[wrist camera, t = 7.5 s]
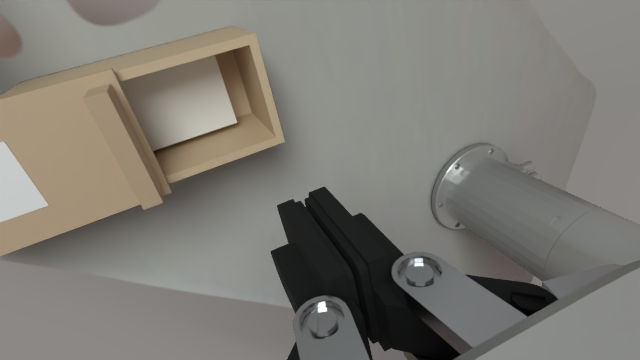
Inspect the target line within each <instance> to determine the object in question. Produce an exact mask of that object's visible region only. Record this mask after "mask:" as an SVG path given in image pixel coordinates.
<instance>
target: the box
mask: <svg viewBox="0 0 640 360" xmlns="http://www.w3.org/2000/svg"><path fill="white" fill-rule="evenodd" d="M109 68H113V70H114V72H115V74H116V76H117V78H118V80H119V82H120V84H121V86H122V88H123V91H124V93H125V95H126V97H127V99H128V101H129V103H130V105H131V107H132V109H133V111H134V113H135V115H136V117H137V120H138V122H139V124H140V126H141V128H142V130H143V132H144V134H145V136H146V138H147V140H148V142H149V144H150V146H151V149H152V151H153V153H154V155H155V157H156V159H157V161H158V163H159V165H160V167H161V169H162V171H163V173H164V175H165V178H166V180H167V182H168V184H170V183H173V182H176V181H179V180H181V179H184V178H187V177H190V176H192V175H195V174H198V173H201V172H203V171H206V170H209V169H212V168H214V167H217V166H220V165H223V164H225V163H228V162H231V161H234V160H236V159H239V158H242V157H245V156H248V155H250V154H253V153H256V152H259V151H261V150H264V149H267V148H270V147H272V146H275V145H278V144H281V143H283V142H285V140H284V136H283V132H282V129H281V125H280V121H279V118H278V114H277V110H276V107H275V103H274V99H273V96H272V92H271V89H270V85H269V81H268V78H267V74H266V70H265V67H264V63H263V59H262V56H261V52H260V48H259V45H258V41H257V37H256V34H255V33H253V32H250V31H246V30H243V29H240V28H236V27H233V26H230V27H226V28H223V29H219V30H215V31H211V32H207V33H204V34H200V35H196V36H192V37H189V38H185V39H181V40H177V41H174V42H170V43H166V44H162V45H159V46H155V47H151V48H147V49H144V50H140V51H136V52H132V53H129V54H125V55H121V56H117V57H114V58H110V59H106V60H102V61H98V62H95V63H91V64H87V65H83V66H80V67H76V68H72V69H68V70H65V71H61V72H57V73H53V74H50V75H46V76H42V77H38V78H35V79H31V80H27V81H23V82H20V83H19V84H17V85H16V86H14V87H13V88H11V89H10V90H8V91H7V92H5V93H4V94H2V95H1V96H0V98H3V97H6V96H10V95H14V94H17V93H21V92H25V91H28V90H32V89H36V88H39V87H43V86H47V85H50V84H54V83H58V82H61V81H65V80H69V79H72V78H76V77H80V76H83V75H87V74H91V73H94V72H98V71H102V70H105V69H109Z"/></svg>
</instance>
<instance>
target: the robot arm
mask: <svg viewBox="0 0 640 360" xmlns="http://www.w3.org/2000/svg"><path fill="white" fill-rule="evenodd" d="M534 169H535V165H534V163H533V162H532V161H527V162H525V163H523V164H521V165H520V166H518V165H515V164H513V163H511V162H508V159H507V157H506V155H505V153H504V152H503V151H502V150H501V149H500V148H498V147H496V146H494V145H491V144H488V143H479V144H474V145H471V146H469V147H467V148H465V149H463V150H462V151H460V152H458V153H457V154H456V155H455V156H454V157H453V158H452V159H451V160H450V161H449V162H448V163H447V164H446V165H445V167H444V168H443V170H442V171H441V173H440V174H439V176H438V178H437V180H436V183H435V186H434V189H433V193H432V210H433V214H434V216H435V218H436V219H437V220H438V221H439V222H440V223H441V224H443V225H444V226H445V227H447V228H450V229H455V230H458V229H464V228H468V229H469V230H471V231H472V232H473V233H475V234H476V235H478V236H479V237H480V238H482V239H483V240H485V241H486V242H488V243H489V244H490V245H492V246H493V247H495V248H496V249H497V250H499V251H500V252H502V253H503V254H505V255H506V256H507V257H509V258H510V259H512V260H513V261H514V262H516V263H517V264H519V265H520V266H522V267H523V268H524V269H526V270H527V271H529V272H530V273H531V274H533V275H534V276H536V277H537V278H539V279H540V280H541V281H543V283H542V286H541V287H540V286H537V285H534V284H530V283H524V282H517V281H509V280H501V279H494V278H486V277H479V276H471V275H464V274H463V273H461V272H460V271H458V270H457V269H455V268H454V267H452V266H451V265H449V264H448V263H446V262H445V261H443V260H442V259H440V258H439V257H437V256H435V255H433V254H429V253H425V252H413V253H409V254H406V255H404V254H403V253H402V252H401V251H400V250H399V249H398V248H397V247H396V246H395V245H394V244H393V243H392V242H391V241H390V240H389V239H388V238H387V237H386V236H385V235H384V234H383V233H382V232H381V231H380V230H379V229H378V228H377V227H376V226H375V225H374V224H373V223H372V222H371V221H370V220H369V219H368V218H367V217H366V216H365V215H363V214H362V213H359V214H357V215H355V216H352V215H351V214H350V213H349V212H348V211H347V210H346V209H345V208H344V207H343V206H342V205H341V204H340V202H339V201H338V200H337V199H336V198H335V197H334V196H333V195H332V194H331V193H330V192H329V191H328V190H327V189H326V188H325V187H322V188H319V189H317V190H314V191H312V192H309V197H308V198H306V199H305V205H306V207H305V206H304V205H303V203H302V202H301V201H298V202H295V201H294V200H293V199H292V200H289V201H287V202H284V203H282V204H279V205H277V208H278V211H279V215H280V218H281V221H282V224H283V227H284V230H285V233H286V236H287V240H288V243H289V244H287V245H284V246H282V247H279V248H277V249H275V250H272V251H271V255H272V258H273V261H274V263H275V266H276V269H277V272H278V274H279V277H280V280H281V282H282V284H283V287H284V289H285V292H286V294H287V296H288V298H289V300H290V303H291V305H292V307H293V309H294V311H295V317H294V320H293V329H294V333H295V338H296V342H295V345H294V347H293V349H292V351H291V353H290V355H289V357H288V359H287V360H373V359H372V355H371V350H370V346H369V341H368V338H369V339H370V341H371V342H372V343H373V344H374V343H376V342H379V343H380V345H381V346H382V348H383V349H384V351H386V350H388V349H390V348H393V349H395V350H400V351H403V352H404V355H405V357H406V358H407V360H640V225H639V224H637V223H635V222H632V221H630V220H628V219H625V218H623V217H621V216H618V215H616V214H614V213H612V212H610V211H608V210H605V209H603V208H601V207H599V206H597V205H594V204H592V203H590V202H588V201H586V200H583V199H581V198H579V197H576V196H574V195H572V194H570V193H568V192H566V191H564V190H561V189H559V188H557V187H555V186H553V185H550V184H548V183H546V182H544V181H542V179H541V176H540V175H539V174H538V173H537V172H531V173H529V174H526V173H527V172H530V171H532V170H534ZM306 208H307V209H306Z"/></svg>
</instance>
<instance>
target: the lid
mask: <svg viewBox="0 0 640 360" xmlns="http://www.w3.org/2000/svg"><path fill="white" fill-rule="evenodd" d="M170 193H172V192H171V188H170V186H169V184H168V182H167V180H166V178H165V175H164V173H163V171H162V169H161V167H160V165H159V163H158V161H157V159H156V157H155V155H154V153H153V151H152V149H151V146H150V144H149V142H148V140H147V138H146V136H145V134H144V132H143V130H142V128H141V126H140V124H139V122H138V120H137V117H136V115H135V113H134V111H133V109H132V107H131V105H130V103H129V101H128V99H127V97H126V95H125V93H124V91H123V88H122V86H121V84H120V82H119V80H118V78H117V76H116V74H115V72H114V70H113V68H109V69H105V70H102V71H98V72H94V73H91V74H87V75H83V76H80V77H76V78H72V79H69V80H65V81H61V82H58V83H54V84H50V85H47V86H43V87H39V88H36V89H32V90H28V91H25V92H21V93H17V94H14V95H10V96H6V97H3V98H0V256H2V255H5V254H8V253H10V252H13V251H16V250H19V249H21V248H24V247H27V246H29V245H32V244H35V243H37V242H40V241H43V240H46V239H48V238H51V237H54V236H56V235H59V234H62V233H65V232H67V231H70V230H73V229H75V228H78V227H81V226H83V225H86V224H89V223H92V222H94V221H97V220H100V219H102V218H105V217H108V216H111V215H113V214H116V213H119V212H121V211H124V210H127V209H130V208H132V207H135V206H138V205H140V204H141V206H142V208H143V210H145V209H148V208H150V207H153V206H156V205H158V204H161V203H163V196H165V195H167V194H170Z"/></svg>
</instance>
